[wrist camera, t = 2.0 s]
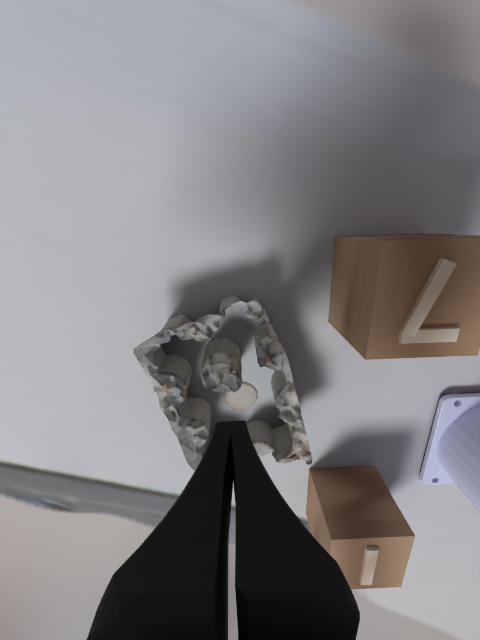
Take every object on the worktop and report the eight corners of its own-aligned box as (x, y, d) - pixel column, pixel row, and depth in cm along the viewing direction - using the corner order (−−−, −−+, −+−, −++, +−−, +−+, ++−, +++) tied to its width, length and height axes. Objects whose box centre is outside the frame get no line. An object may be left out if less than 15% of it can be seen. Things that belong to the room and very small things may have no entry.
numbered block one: (373, 464, 21) (417, 539, 16) (365, 510, 22) (402, 590, 17) (308, 467, 21) (332, 543, 16) (305, 513, 22) (326, 594, 17)
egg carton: (302, 421, 19) (319, 470, 15) (204, 446, 20) (197, 499, 16) (264, 281, 16) (275, 301, 12) (146, 317, 16) (119, 346, 12)
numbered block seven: (424, 233, 15) (517, 237, 10) (407, 317, 17) (481, 357, 12) (335, 236, 15) (384, 241, 10) (327, 321, 16) (367, 361, 12)
